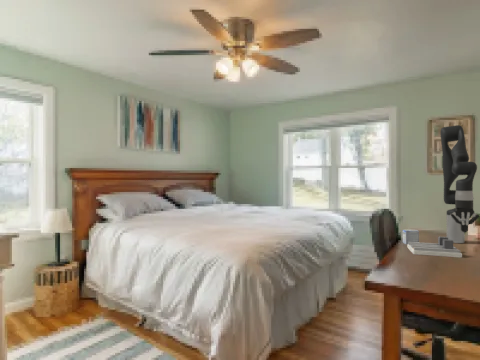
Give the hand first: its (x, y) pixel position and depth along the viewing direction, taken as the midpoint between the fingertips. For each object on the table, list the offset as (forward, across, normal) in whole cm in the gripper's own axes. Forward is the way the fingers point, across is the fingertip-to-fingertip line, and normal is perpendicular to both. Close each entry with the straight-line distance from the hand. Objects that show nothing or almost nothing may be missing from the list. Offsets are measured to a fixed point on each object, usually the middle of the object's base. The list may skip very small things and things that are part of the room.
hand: (464, 231), depth 152 cm
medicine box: (+13, +20, -23) cm, 33 cm away
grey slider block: (+10, +7, 0) cm, 13 cm away
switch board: (+13, +13, -4) cm, 19 cm away
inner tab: (+10, +7, -8) cm, 15 cm away
